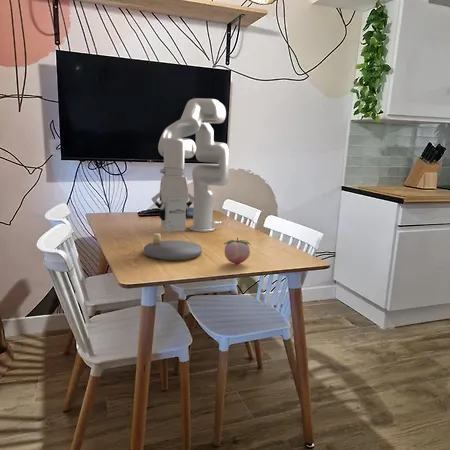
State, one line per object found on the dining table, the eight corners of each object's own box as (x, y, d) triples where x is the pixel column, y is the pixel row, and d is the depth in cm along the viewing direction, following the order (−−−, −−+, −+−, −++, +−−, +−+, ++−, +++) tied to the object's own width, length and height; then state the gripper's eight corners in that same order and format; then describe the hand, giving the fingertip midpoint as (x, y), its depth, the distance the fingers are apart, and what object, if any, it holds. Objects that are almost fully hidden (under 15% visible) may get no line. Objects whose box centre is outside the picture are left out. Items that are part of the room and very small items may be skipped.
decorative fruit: (246, 260, 149) (247, 234, 147) (251, 267, 141) (252, 240, 139) (221, 261, 148) (222, 234, 146) (225, 268, 140) (226, 240, 138)
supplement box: (167, 232, 147) (167, 197, 145) (160, 228, 154) (160, 195, 151) (185, 230, 151) (186, 197, 148) (178, 226, 157) (179, 194, 155)
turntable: (168, 241, 169) (168, 228, 168) (212, 250, 158) (212, 236, 157) (131, 252, 150) (131, 238, 149) (178, 263, 139) (178, 248, 138)
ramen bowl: (168, 212, 241) (168, 198, 239) (206, 212, 247) (206, 198, 246) (174, 220, 218) (175, 205, 216) (215, 220, 224) (216, 205, 222)
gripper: (153, 173, 141) (152, 222, 145) (199, 173, 148) (198, 220, 152) (148, 171, 148) (148, 218, 151) (193, 171, 155) (192, 216, 158)
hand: (173, 219), depth 152 cm, fingers closed on supplement box, 7 cm apart
